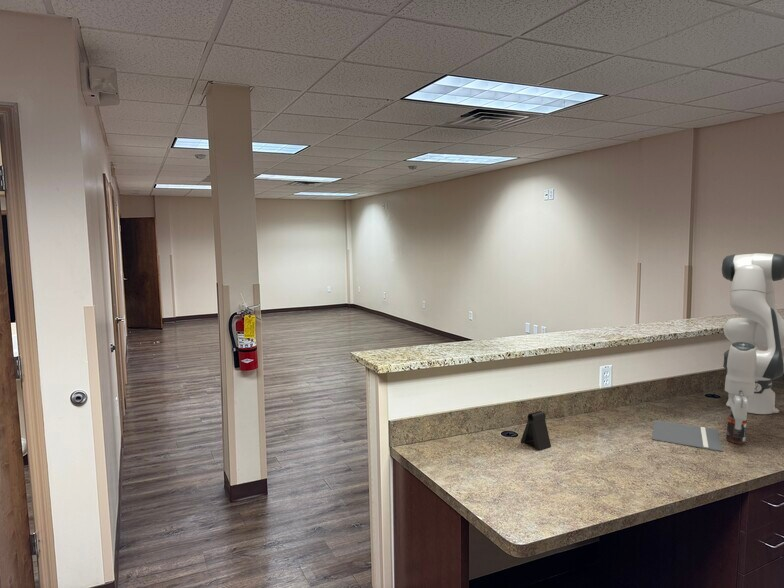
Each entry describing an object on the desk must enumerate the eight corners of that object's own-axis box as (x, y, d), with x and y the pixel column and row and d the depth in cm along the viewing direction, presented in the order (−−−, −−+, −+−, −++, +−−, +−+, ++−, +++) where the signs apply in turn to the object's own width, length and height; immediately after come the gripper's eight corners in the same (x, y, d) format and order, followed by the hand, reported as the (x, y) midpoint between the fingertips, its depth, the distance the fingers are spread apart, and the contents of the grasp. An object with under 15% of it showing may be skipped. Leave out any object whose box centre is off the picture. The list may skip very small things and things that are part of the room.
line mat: (653, 420, 211) (653, 419, 210) (717, 430, 200) (717, 428, 200) (652, 440, 191) (652, 438, 191) (722, 451, 181) (722, 450, 181)
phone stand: (520, 442, 190) (521, 410, 188) (532, 438, 193) (533, 407, 191) (539, 451, 182) (540, 418, 181) (551, 447, 185) (552, 414, 184)
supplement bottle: (749, 444, 187) (751, 414, 186) (732, 444, 187) (735, 414, 186) (738, 438, 193) (741, 408, 192) (722, 438, 193) (724, 408, 192)
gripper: (754, 396, 177) (750, 435, 179) (746, 382, 195) (743, 417, 196) (732, 394, 180) (728, 432, 182) (726, 379, 198) (723, 414, 199)
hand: (736, 424), depth 189 cm, fingers open, 8 cm apart
